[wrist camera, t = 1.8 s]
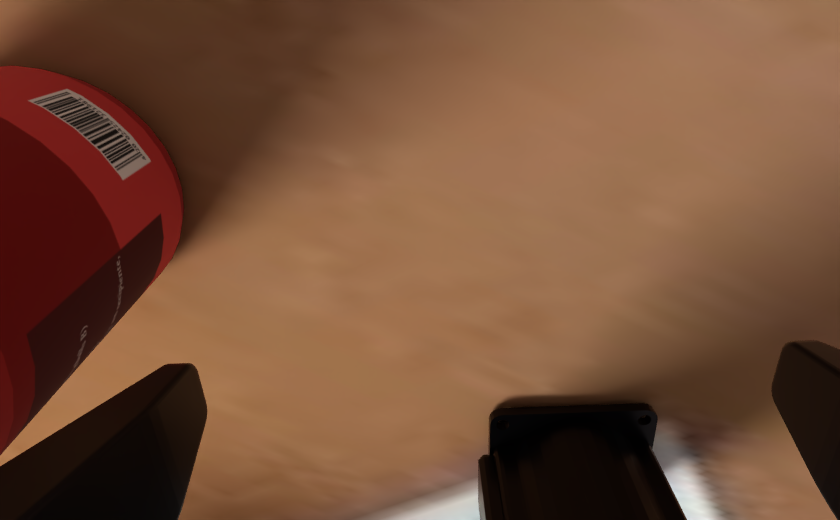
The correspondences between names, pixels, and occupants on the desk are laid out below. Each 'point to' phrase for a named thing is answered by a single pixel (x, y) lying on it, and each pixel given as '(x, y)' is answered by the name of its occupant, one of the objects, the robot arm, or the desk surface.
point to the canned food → (72, 229)
